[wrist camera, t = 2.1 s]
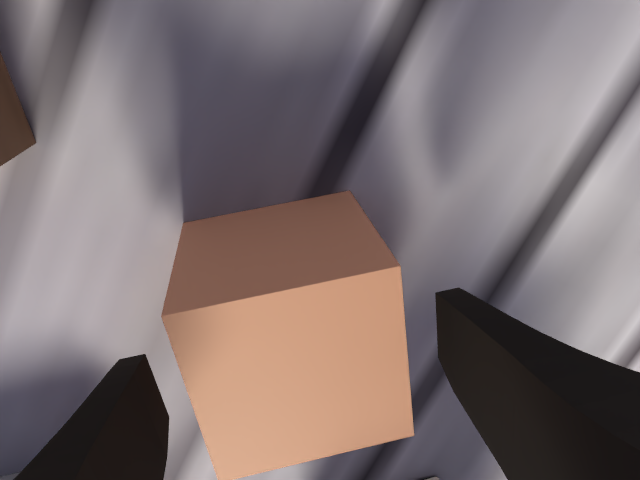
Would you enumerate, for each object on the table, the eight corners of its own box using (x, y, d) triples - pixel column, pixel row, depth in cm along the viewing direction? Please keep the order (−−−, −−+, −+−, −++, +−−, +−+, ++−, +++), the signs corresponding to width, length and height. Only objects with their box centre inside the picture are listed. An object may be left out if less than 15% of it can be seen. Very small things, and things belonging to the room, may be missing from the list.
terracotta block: (222, 355, 16) (218, 482, 12) (183, 221, 14) (161, 316, 10) (365, 324, 17) (414, 435, 12) (349, 189, 15) (400, 266, 10)
